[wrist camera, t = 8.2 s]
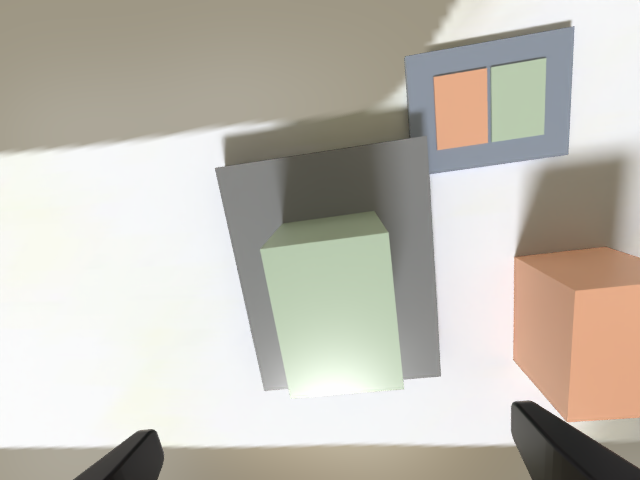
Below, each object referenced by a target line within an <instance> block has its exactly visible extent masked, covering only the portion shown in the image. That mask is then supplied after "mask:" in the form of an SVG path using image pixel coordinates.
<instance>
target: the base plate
mask: <svg viewBox="0 0 640 480" xmlns="http://www.w3.org/2000/svg"><path fill="white" fill-rule="evenodd" d="M215 171H216V175H217V180H218V184H219V189H220V193H221V198H222V202H223V207H224V211H225V216H226V220H227V225H228V229H229V234H230V238H231V243H232V247H233V252H234V256H235V261H236V265H237V270H238V274H239V279H240V283H241V288H242V292H243V297H244V301H245V306H246V310H247V315H248V319H249V324H250V328H251V333H252V337H253V342H254V346H255V351H256V355H257V360H258V364H259V369H260V373H261V378H262V382H263V387H264V391H268V390H280V389H288V384H287V379H286V374H285V369H284V364H283V359H282V355H281V350H280V345H279V340H278V335H277V330H276V325H275V320H274V316H273V311H272V306H271V301H270V296H269V291H268V286H267V281H266V277H265V272H264V267H263V262H262V257H261V252H260V249H261V248H262V246H263V245H264V244H265V243H266V242H267V241H268V239H269V238H270V237H271V236H272V235H273V234H274V233H275V231H276V230H277V229H278V228H279V227H280V226H281V225H282V224H283V223H290V222H297V221H304V220H312V219H319V218H326V217H334V216H341V215H348V214H355V213H363V212H370V211H375V213H376V214H377V216H378V217H379V219H380V220H381V222H382V223H383V225H384V226H385V228H386V229H387V231H388V232H389V242H390V252H391V262H392V272H393V283H394V293H395V303H396V313H397V323H398V333H399V343H400V354H401V364H402V374H403V379H415V378H427V377H439V376H441V369H440V351H439V334H438V317H437V300H436V283H435V266H434V248H433V231H432V214H431V197H430V180H429V163H428V145H427V136H421V137H415V138H408V139H401V140H395V141H388V142H382V143H375V144H369V145H362V146H356V147H349V148H343V149H336V150H329V151H323V152H316V153H310V154H303V155H297V156H290V157H284V158H277V159H270V160H264V161H257V162H251V163H244V164H238V165H231V166H225V167H218V168H215Z"/></svg>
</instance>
